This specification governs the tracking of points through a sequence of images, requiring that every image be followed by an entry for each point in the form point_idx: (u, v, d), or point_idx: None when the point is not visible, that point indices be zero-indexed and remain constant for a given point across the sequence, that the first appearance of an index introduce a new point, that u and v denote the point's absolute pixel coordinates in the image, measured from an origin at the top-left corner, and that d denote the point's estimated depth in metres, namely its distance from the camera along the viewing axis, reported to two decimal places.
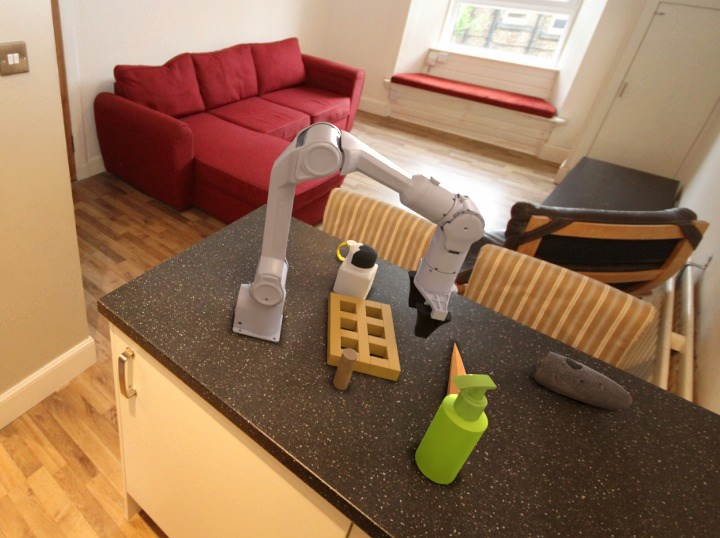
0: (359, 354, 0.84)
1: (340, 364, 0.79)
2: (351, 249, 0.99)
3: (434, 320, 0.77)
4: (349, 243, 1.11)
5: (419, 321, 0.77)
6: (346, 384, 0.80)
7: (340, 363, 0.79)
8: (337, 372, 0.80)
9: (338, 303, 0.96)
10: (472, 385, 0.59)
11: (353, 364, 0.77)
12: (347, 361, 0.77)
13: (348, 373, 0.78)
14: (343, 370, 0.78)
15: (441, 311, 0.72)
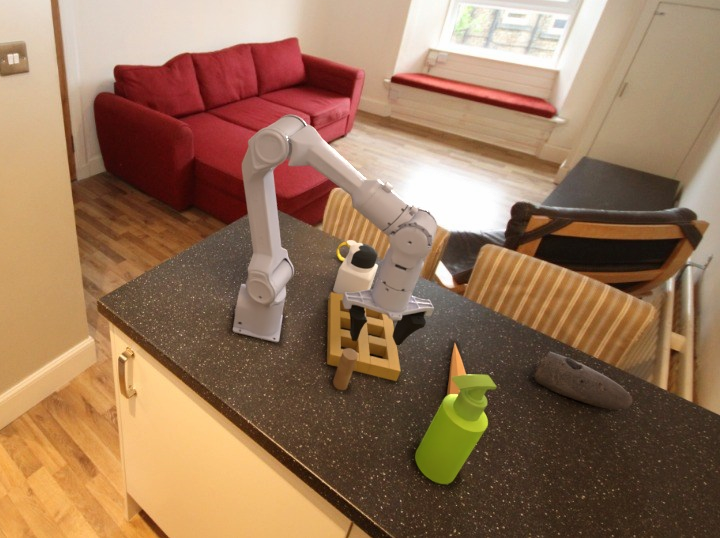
0: (359, 354, 0.84)
1: (340, 364, 0.79)
2: (351, 249, 0.99)
3: None
4: (349, 243, 1.11)
5: (349, 311, 0.78)
6: (346, 384, 0.80)
7: (340, 363, 0.79)
8: (337, 372, 0.80)
9: (338, 303, 0.96)
10: (472, 385, 0.59)
11: (353, 364, 0.77)
12: (347, 361, 0.77)
13: (348, 373, 0.78)
14: (343, 370, 0.78)
15: (346, 296, 0.75)
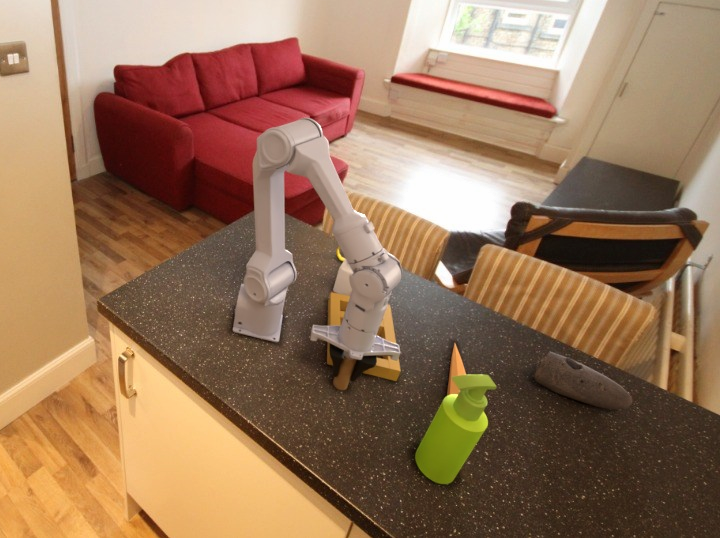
0: None
1: None
2: None
3: None
4: None
5: None
6: (346, 384, 0.80)
7: None
8: None
9: (338, 303, 0.96)
10: (472, 385, 0.59)
11: (353, 364, 0.77)
12: (347, 361, 0.77)
13: (348, 373, 0.78)
14: (343, 370, 0.78)
15: (312, 329, 0.77)
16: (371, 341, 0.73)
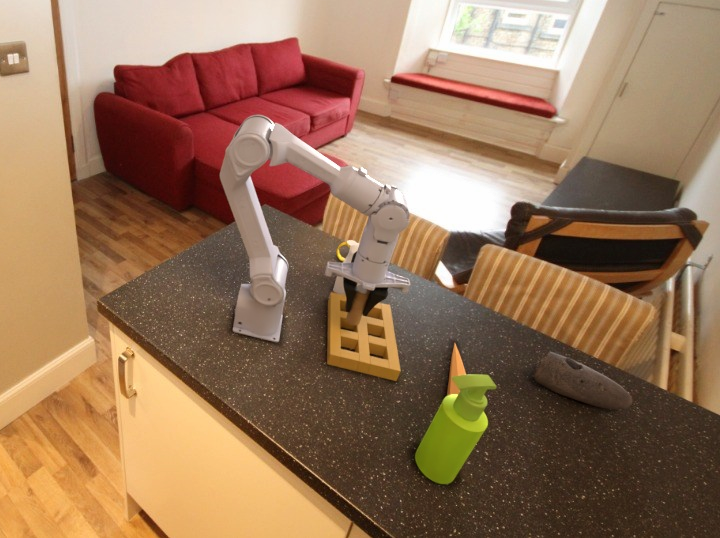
0: (359, 354, 0.84)
1: (353, 299, 0.84)
2: (351, 249, 0.99)
3: None
4: (349, 243, 1.11)
5: None
6: (359, 319, 0.85)
7: None
8: None
9: (338, 303, 0.96)
10: (472, 385, 0.59)
11: (366, 298, 0.82)
12: (360, 295, 0.82)
13: (360, 308, 0.83)
14: (356, 305, 0.83)
15: (327, 265, 0.82)
16: (383, 273, 0.78)
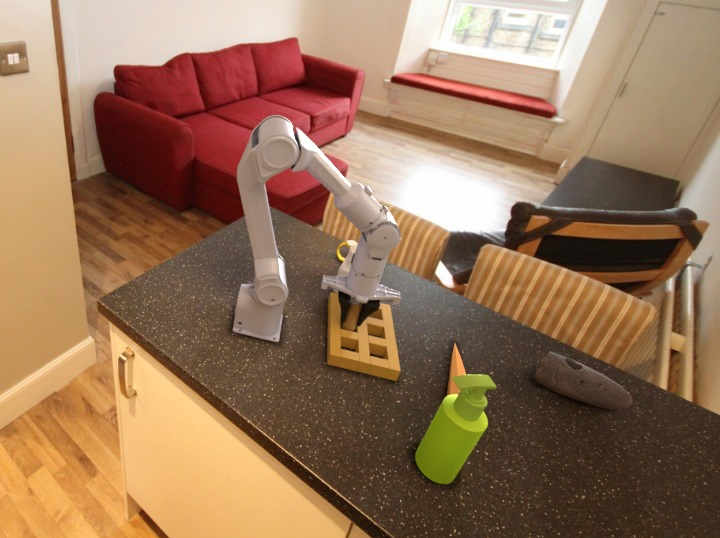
0: (359, 354, 0.84)
1: None
2: (351, 249, 0.99)
3: None
4: (349, 243, 1.11)
5: None
6: (353, 329, 0.90)
7: None
8: None
9: (338, 303, 0.96)
10: (472, 385, 0.59)
11: (359, 310, 0.88)
12: (354, 307, 0.87)
13: (354, 318, 0.89)
14: (350, 316, 0.88)
15: (323, 278, 0.87)
16: (375, 286, 0.83)
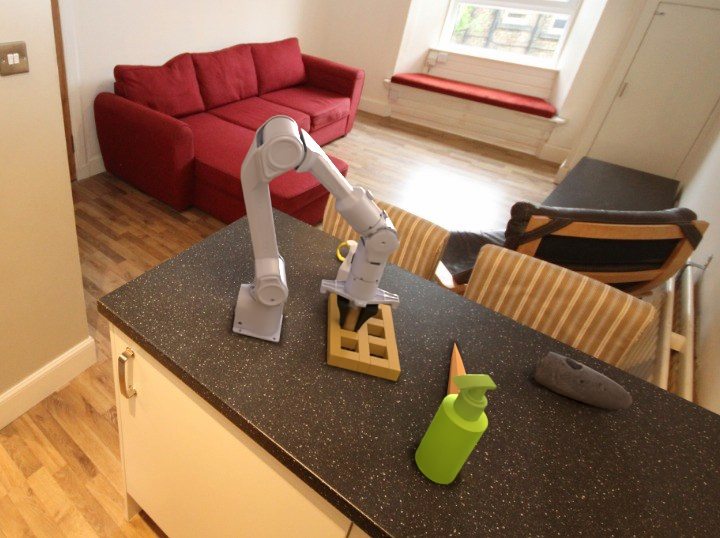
0: (359, 354, 0.84)
1: (346, 314, 0.89)
2: (351, 249, 0.99)
3: None
4: (349, 243, 1.11)
5: None
6: None
7: None
8: (344, 322, 0.91)
9: None
10: (472, 385, 0.59)
11: (358, 314, 0.88)
12: (352, 311, 0.88)
13: (353, 322, 0.89)
14: (349, 320, 0.89)
15: (322, 282, 0.88)
16: (373, 291, 0.83)
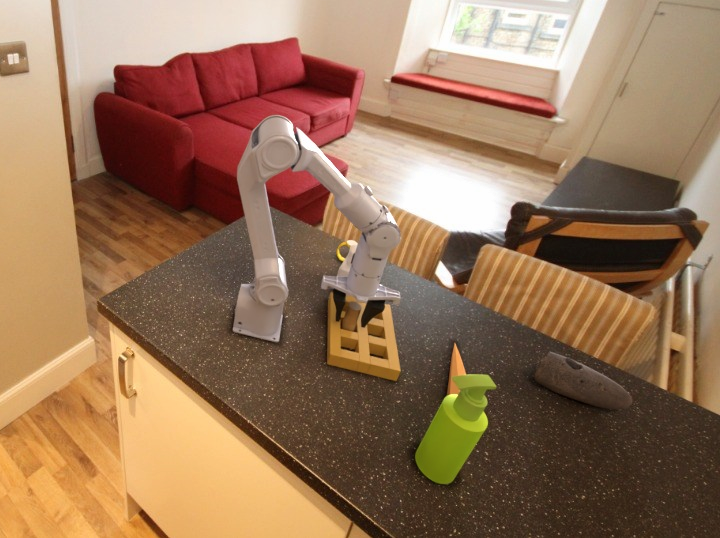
0: (359, 354, 0.84)
1: (346, 315, 0.89)
2: (351, 249, 0.99)
3: None
4: (349, 243, 1.11)
5: None
6: None
7: (346, 314, 0.89)
8: (343, 323, 0.91)
9: None
10: (472, 385, 0.59)
11: (357, 314, 0.88)
12: (352, 312, 0.88)
13: (353, 323, 0.89)
14: (349, 320, 0.89)
15: (323, 278, 0.87)
16: (375, 287, 0.83)
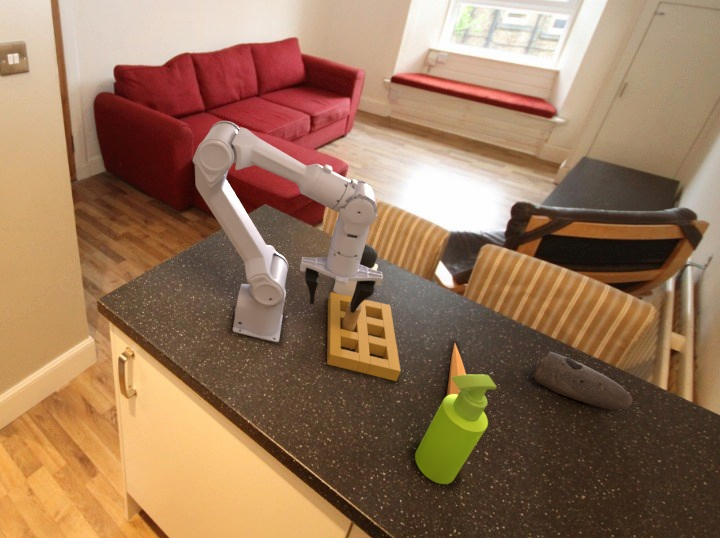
0: (359, 354, 0.84)
1: (346, 315, 0.89)
2: None
3: None
4: None
5: None
6: None
7: (346, 314, 0.89)
8: (343, 323, 0.91)
9: (338, 303, 0.96)
10: (472, 385, 0.59)
11: (357, 314, 0.88)
12: None
13: (353, 323, 0.89)
14: (349, 320, 0.89)
15: (301, 260, 0.83)
16: (355, 267, 0.79)
